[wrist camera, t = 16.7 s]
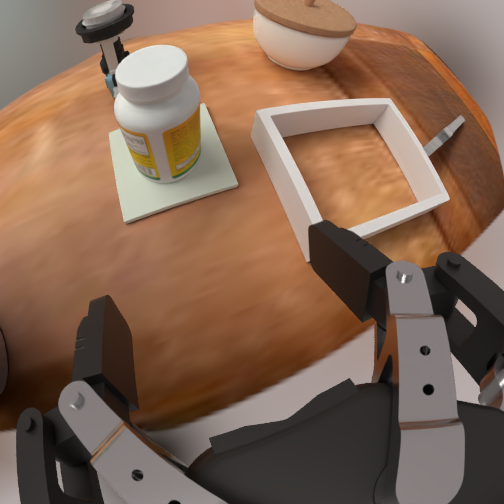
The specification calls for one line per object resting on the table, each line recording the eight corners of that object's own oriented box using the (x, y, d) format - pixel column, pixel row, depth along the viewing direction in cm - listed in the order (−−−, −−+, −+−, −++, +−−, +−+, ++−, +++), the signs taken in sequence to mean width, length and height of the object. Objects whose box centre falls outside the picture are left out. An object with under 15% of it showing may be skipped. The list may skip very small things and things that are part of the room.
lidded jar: (267, 87, 24) (287, 13, 15) (233, 37, 26) (242, -24, 17) (350, 82, 26) (382, 25, 17) (308, 34, 28) (327, -17, 19)
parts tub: (427, 212, 23) (450, 199, 20) (306, 262, 20) (324, 251, 17) (374, 117, 25) (389, 98, 22) (250, 136, 22) (256, 110, 19)
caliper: (410, 171, 25) (446, 142, 19) (404, 163, 25) (439, 132, 19) (462, 122, 30) (485, 102, 23) (457, 117, 30) (480, 96, 24)
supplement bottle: (134, 189, 19) (91, 105, 10) (138, 134, 21) (112, 47, 11) (203, 181, 20) (200, 89, 11) (200, 127, 21) (200, 34, 12)
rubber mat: (237, 186, 21) (238, 183, 21) (126, 224, 19) (124, 221, 19) (204, 106, 23) (204, 103, 22) (110, 136, 21) (108, 133, 20)
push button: (146, 100, 22) (129, 16, 13) (95, 114, 21) (63, 39, 12) (145, 63, 23) (134, -9, 14) (100, 75, 22) (79, 8, 13)
